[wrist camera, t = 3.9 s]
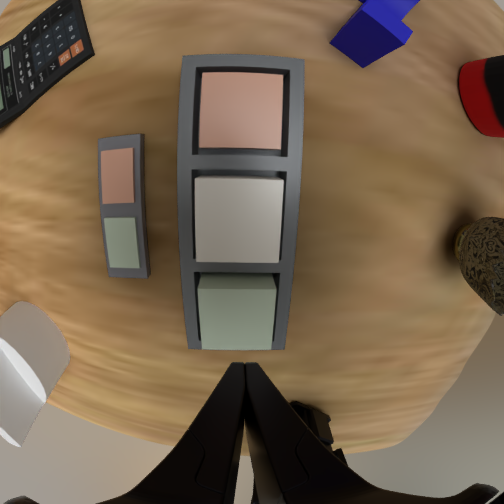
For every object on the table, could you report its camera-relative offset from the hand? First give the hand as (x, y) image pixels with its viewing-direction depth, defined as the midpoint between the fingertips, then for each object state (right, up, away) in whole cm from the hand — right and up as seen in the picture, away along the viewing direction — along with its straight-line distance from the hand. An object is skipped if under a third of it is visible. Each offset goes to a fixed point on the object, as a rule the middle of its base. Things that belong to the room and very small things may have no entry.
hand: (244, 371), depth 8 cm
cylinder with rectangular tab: (-23, -5, +13) cm, 27 cm away
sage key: (-1, +1, +10) cm, 10 cm away
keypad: (-1, +7, +10) cm, 12 cm away
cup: (+20, +5, +12) cm, 24 cm away
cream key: (-1, +6, +8) cm, 10 cm away
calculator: (-19, +21, +4) cm, 28 cm away
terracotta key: (0, +12, +7) cm, 14 cm away
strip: (-9, +7, +9) cm, 14 cm away
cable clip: (+10, +23, +5) cm, 25 cm away
